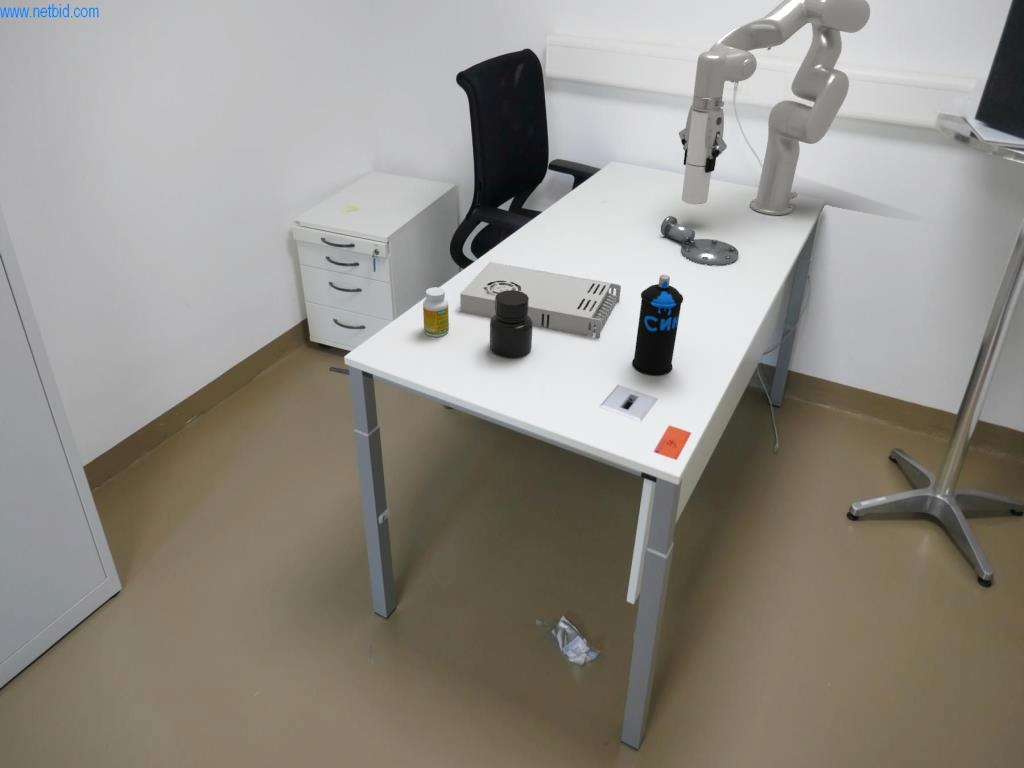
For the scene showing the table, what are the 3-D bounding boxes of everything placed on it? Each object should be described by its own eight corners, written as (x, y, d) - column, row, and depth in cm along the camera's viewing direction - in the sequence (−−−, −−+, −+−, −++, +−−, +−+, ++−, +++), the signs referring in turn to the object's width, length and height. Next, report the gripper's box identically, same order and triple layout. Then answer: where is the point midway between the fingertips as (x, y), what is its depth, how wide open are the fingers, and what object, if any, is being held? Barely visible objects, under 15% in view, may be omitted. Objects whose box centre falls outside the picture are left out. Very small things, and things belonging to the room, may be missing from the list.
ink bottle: (537, 341, 169) (539, 291, 162) (528, 362, 161) (530, 310, 155) (493, 335, 170) (494, 285, 164) (482, 355, 163) (483, 304, 157)
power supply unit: (599, 340, 171) (601, 320, 168) (460, 313, 180) (459, 293, 177) (619, 303, 186) (621, 284, 183) (489, 280, 195) (489, 261, 192)
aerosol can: (628, 355, 165) (639, 268, 154) (666, 354, 165) (680, 267, 154) (636, 376, 158) (648, 286, 147) (676, 375, 158) (691, 285, 148)
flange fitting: (749, 257, 209) (753, 237, 206) (711, 270, 202) (715, 250, 199) (684, 229, 225) (687, 210, 222) (647, 240, 217) (650, 221, 214)
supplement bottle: (439, 340, 168) (437, 299, 163) (419, 333, 170) (417, 292, 165) (453, 329, 172) (453, 289, 167) (433, 323, 174) (432, 283, 169)
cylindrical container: (705, 195, 226) (718, 106, 212) (708, 204, 220) (721, 113, 206) (680, 194, 226) (691, 105, 212) (682, 203, 221) (693, 113, 207)
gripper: (742, 106, 204) (732, 173, 214) (692, 93, 216) (684, 157, 226) (723, 111, 200) (713, 179, 210) (673, 97, 212) (666, 162, 222)
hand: (698, 167), depth 218 cm, fingers closed on cylindrical container, 7 cm apart
